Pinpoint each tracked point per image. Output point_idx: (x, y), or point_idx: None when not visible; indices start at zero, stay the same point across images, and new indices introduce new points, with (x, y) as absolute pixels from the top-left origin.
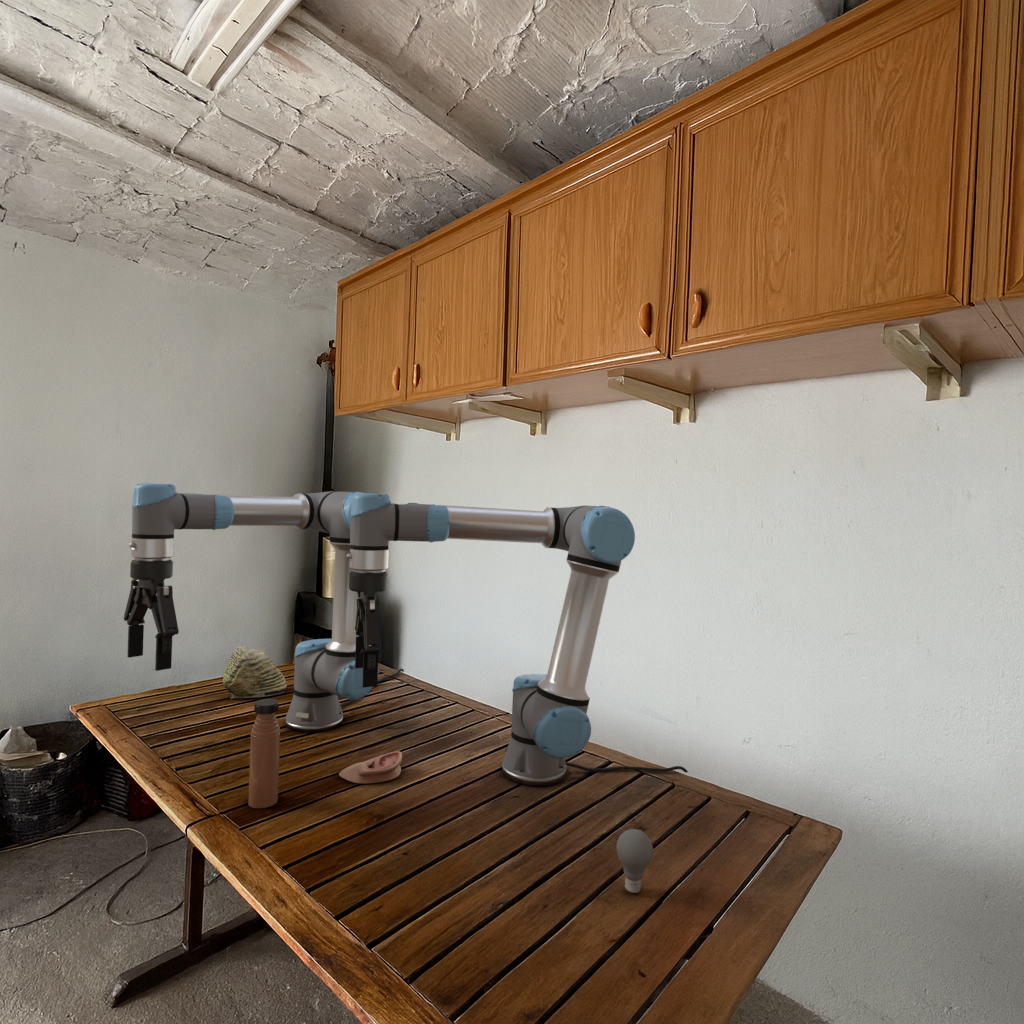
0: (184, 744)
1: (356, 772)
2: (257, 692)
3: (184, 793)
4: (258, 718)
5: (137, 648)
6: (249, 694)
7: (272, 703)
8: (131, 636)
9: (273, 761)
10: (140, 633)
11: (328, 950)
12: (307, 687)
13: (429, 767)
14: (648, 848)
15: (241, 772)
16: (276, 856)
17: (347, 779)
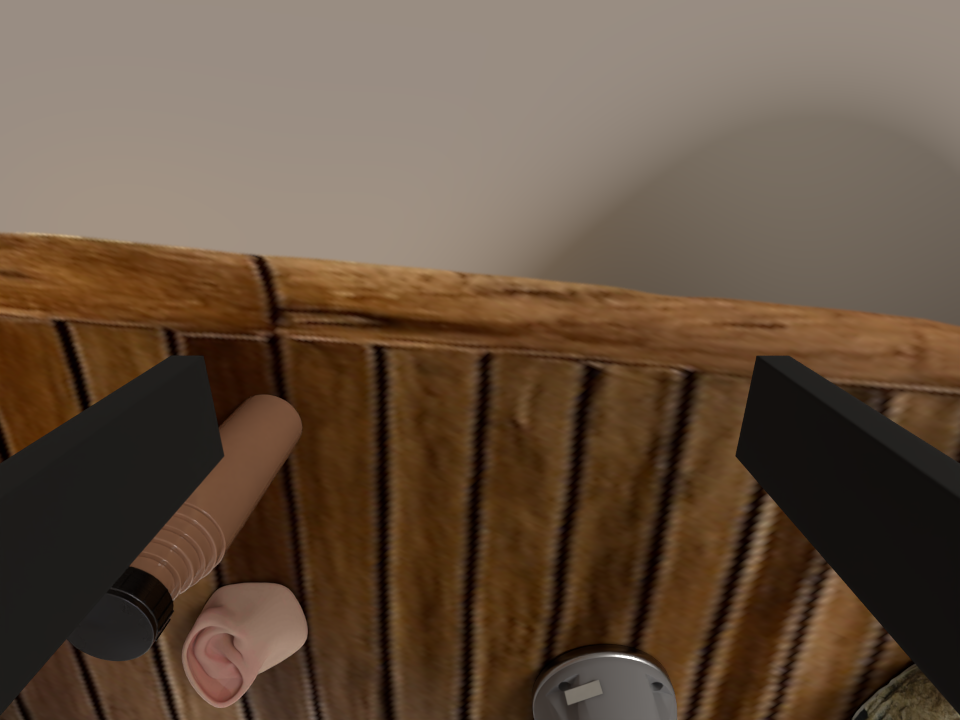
0: (734, 447)
1: (237, 608)
2: (884, 707)
3: (437, 322)
4: (139, 556)
5: (780, 453)
6: (895, 690)
7: (77, 633)
8: (894, 478)
9: None
10: (884, 585)
11: None
12: None
13: (208, 704)
14: None
15: (455, 462)
16: (6, 326)
17: (245, 584)
